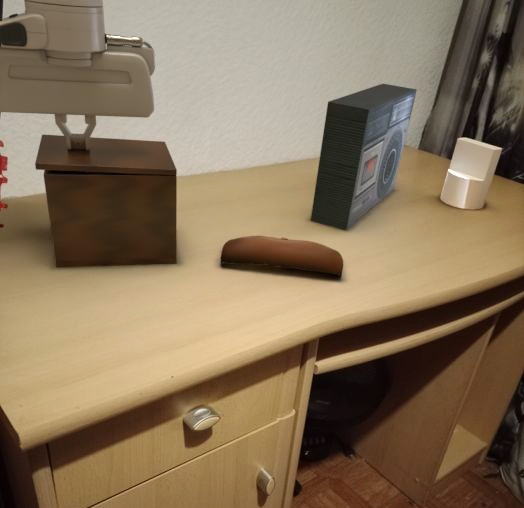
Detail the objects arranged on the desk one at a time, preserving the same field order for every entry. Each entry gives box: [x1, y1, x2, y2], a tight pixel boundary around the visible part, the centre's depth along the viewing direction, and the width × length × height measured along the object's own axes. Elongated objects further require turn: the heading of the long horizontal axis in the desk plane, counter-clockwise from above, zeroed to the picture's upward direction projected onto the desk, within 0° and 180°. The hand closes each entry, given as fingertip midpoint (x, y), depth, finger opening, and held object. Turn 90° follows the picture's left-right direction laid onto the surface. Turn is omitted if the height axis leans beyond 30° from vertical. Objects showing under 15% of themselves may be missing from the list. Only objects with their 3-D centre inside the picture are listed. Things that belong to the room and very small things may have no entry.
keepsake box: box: [43, 170, 178, 268], centre depth 79 cm, size 17×14×13 cm
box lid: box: [34, 134, 178, 176], centre depth 75 cm, size 17×14×1 cm
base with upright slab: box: [440, 137, 503, 211], centre depth 112 cm, size 9×9×12 cm
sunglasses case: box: [220, 235, 344, 278], centre depth 81 cm, size 18×7×7 cm, turn 86°
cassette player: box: [310, 83, 418, 231], centre depth 102 cm, size 29×7×20 cm, turn 152°
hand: (78, 149), depth 73 cm, fingers closed
